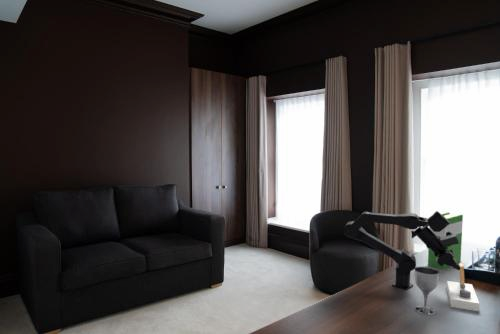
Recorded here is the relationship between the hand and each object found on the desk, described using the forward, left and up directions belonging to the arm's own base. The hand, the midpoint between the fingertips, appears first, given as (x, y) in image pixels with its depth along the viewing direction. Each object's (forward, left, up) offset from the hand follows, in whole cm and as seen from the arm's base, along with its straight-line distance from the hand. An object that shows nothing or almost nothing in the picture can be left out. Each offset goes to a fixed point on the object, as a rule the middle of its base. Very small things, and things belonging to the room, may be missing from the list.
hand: (459, 269), depth 149 cm
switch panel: (-4, -3, -10) cm, 11 cm away
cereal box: (+35, +18, -10) cm, 40 cm away
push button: (-8, -5, -7) cm, 11 cm away
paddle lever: (+1, -1, -6) cm, 6 cm away
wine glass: (-24, +3, -10) cm, 27 cm away
